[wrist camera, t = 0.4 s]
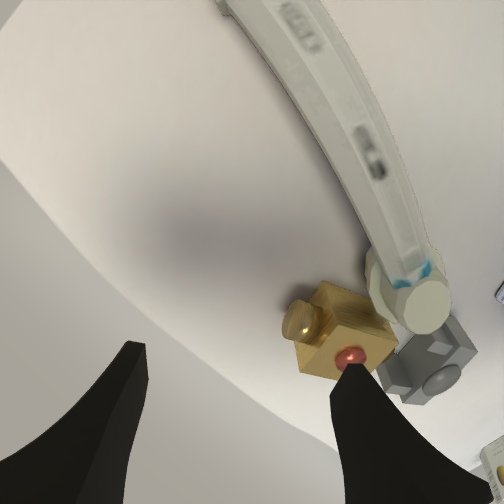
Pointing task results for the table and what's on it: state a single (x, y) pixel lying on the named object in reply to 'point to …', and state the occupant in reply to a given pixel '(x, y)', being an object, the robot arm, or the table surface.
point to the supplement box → (495, 467)
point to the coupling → (427, 364)
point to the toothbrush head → (353, 153)
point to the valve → (337, 332)
